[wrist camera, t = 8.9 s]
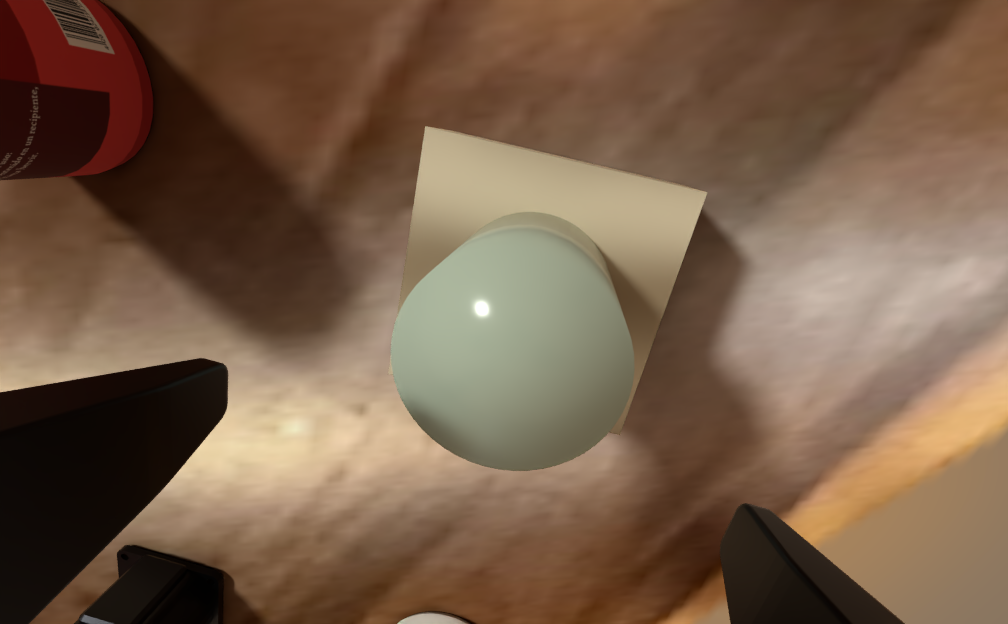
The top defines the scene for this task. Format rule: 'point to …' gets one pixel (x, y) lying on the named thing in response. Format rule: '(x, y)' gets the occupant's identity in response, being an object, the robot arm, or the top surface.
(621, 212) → the beech block
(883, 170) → the top surface
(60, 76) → the canned food
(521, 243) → the grey-green rounded piece
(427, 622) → the can
